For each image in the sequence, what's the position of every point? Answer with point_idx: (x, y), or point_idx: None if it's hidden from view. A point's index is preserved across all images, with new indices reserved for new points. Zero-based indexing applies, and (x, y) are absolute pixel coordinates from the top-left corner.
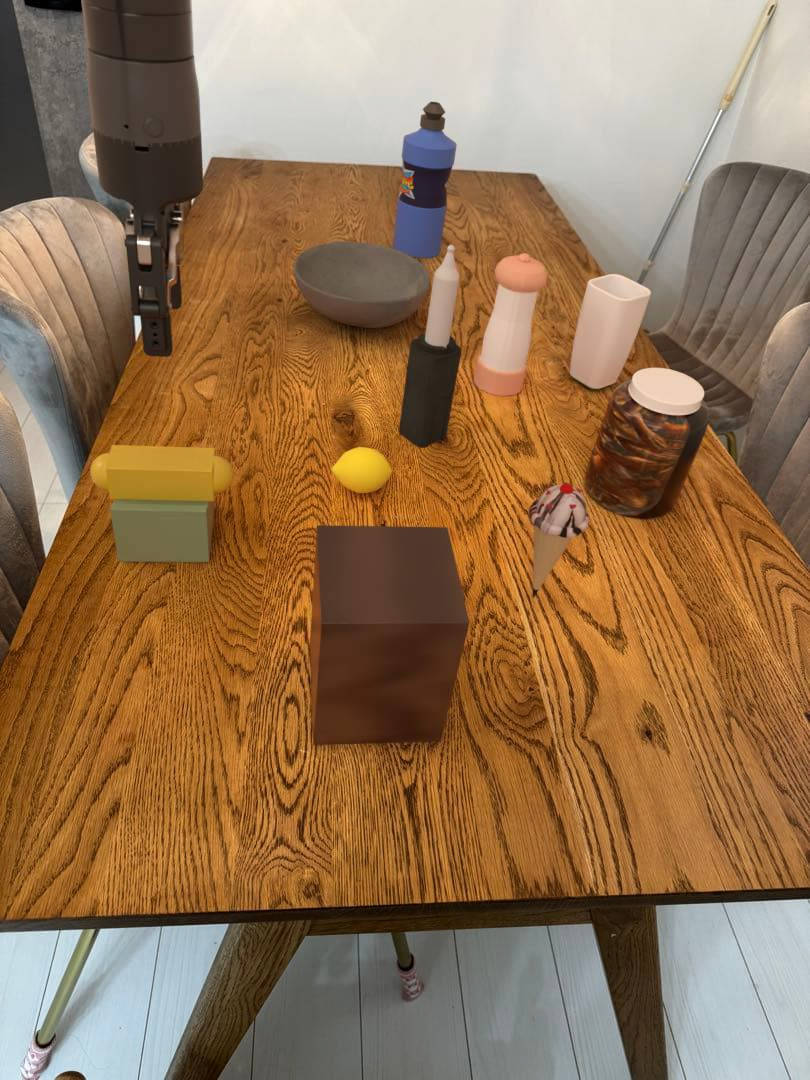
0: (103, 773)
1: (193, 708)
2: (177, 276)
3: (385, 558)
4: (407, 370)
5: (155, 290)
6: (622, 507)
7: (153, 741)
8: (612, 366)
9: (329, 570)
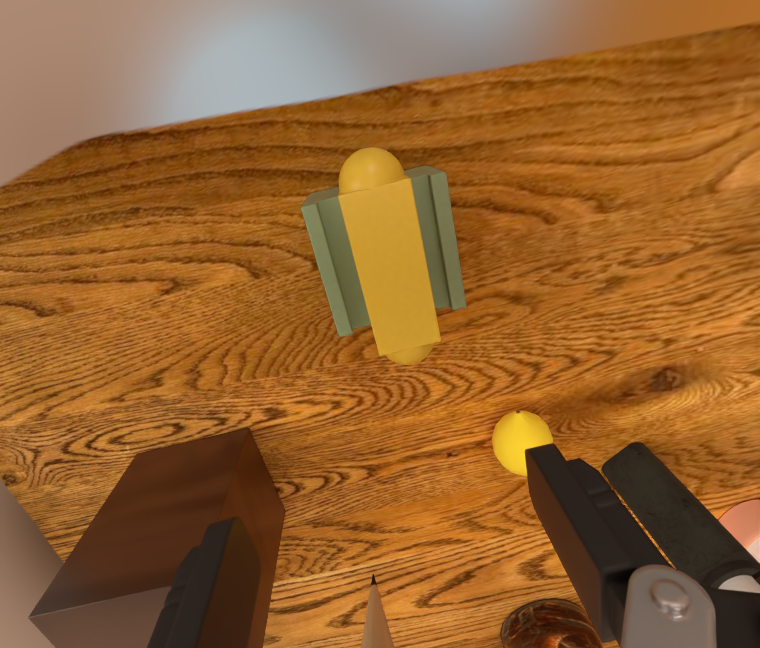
0: (16, 299)
1: (129, 351)
2: (584, 605)
3: None
4: (699, 514)
5: (551, 491)
6: (506, 632)
7: (74, 329)
8: None
9: (119, 606)
